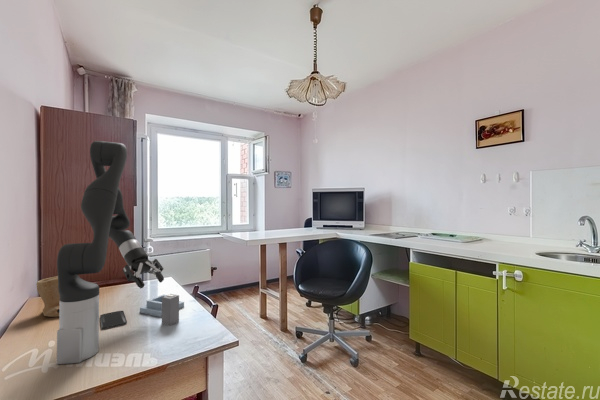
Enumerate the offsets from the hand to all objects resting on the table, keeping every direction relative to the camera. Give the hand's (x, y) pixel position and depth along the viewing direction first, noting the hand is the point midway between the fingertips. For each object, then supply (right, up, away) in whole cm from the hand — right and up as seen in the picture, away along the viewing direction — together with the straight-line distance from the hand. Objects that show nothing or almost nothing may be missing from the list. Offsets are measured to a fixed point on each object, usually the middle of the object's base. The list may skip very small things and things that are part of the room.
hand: (152, 283), depth 107 cm
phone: (-15, -14, -2) cm, 20 cm away
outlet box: (-1, -14, +9) cm, 16 cm away
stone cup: (-44, -14, +6) cm, 46 cm away
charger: (+9, -13, -4) cm, 17 cm away
